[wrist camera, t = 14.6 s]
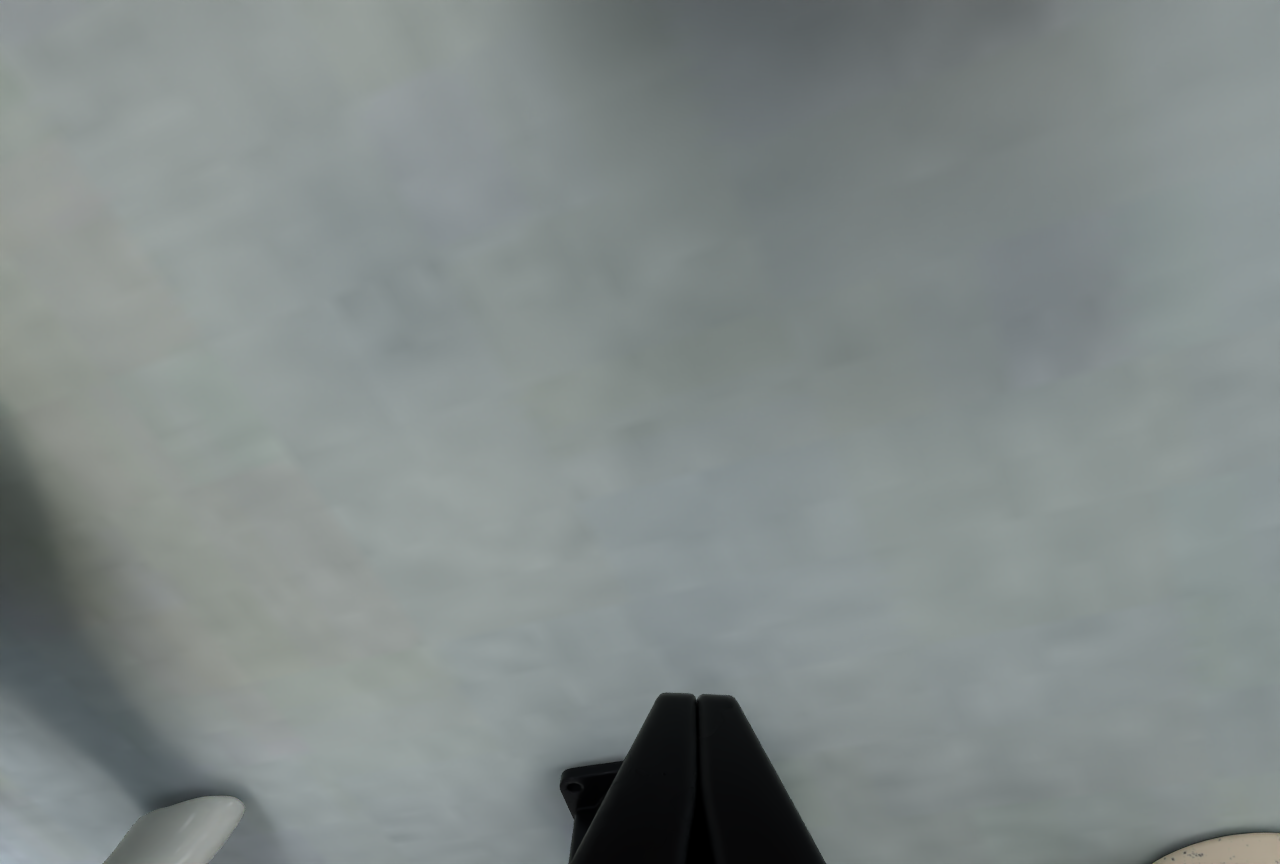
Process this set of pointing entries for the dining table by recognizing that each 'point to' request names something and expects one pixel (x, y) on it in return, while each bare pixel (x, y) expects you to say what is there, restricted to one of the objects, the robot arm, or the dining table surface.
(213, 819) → the spoon rest
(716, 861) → the robot arm
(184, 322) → the dining table surface
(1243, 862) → the teacup with lid
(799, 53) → the dining table surface
